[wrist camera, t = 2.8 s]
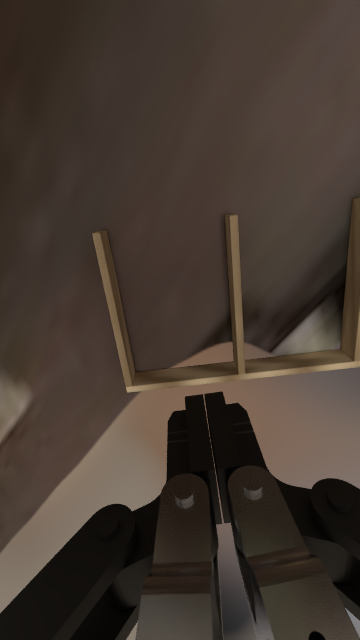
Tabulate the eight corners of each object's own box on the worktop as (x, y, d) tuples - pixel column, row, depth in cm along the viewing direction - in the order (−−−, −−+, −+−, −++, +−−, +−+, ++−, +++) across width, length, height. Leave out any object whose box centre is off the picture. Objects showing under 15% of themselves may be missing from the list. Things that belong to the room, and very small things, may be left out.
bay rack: (130, 378, 30) (127, 392, 28) (99, 230, 25) (92, 233, 23) (453, 341, 29) (477, 353, 27) (491, 180, 24) (525, 177, 22)
